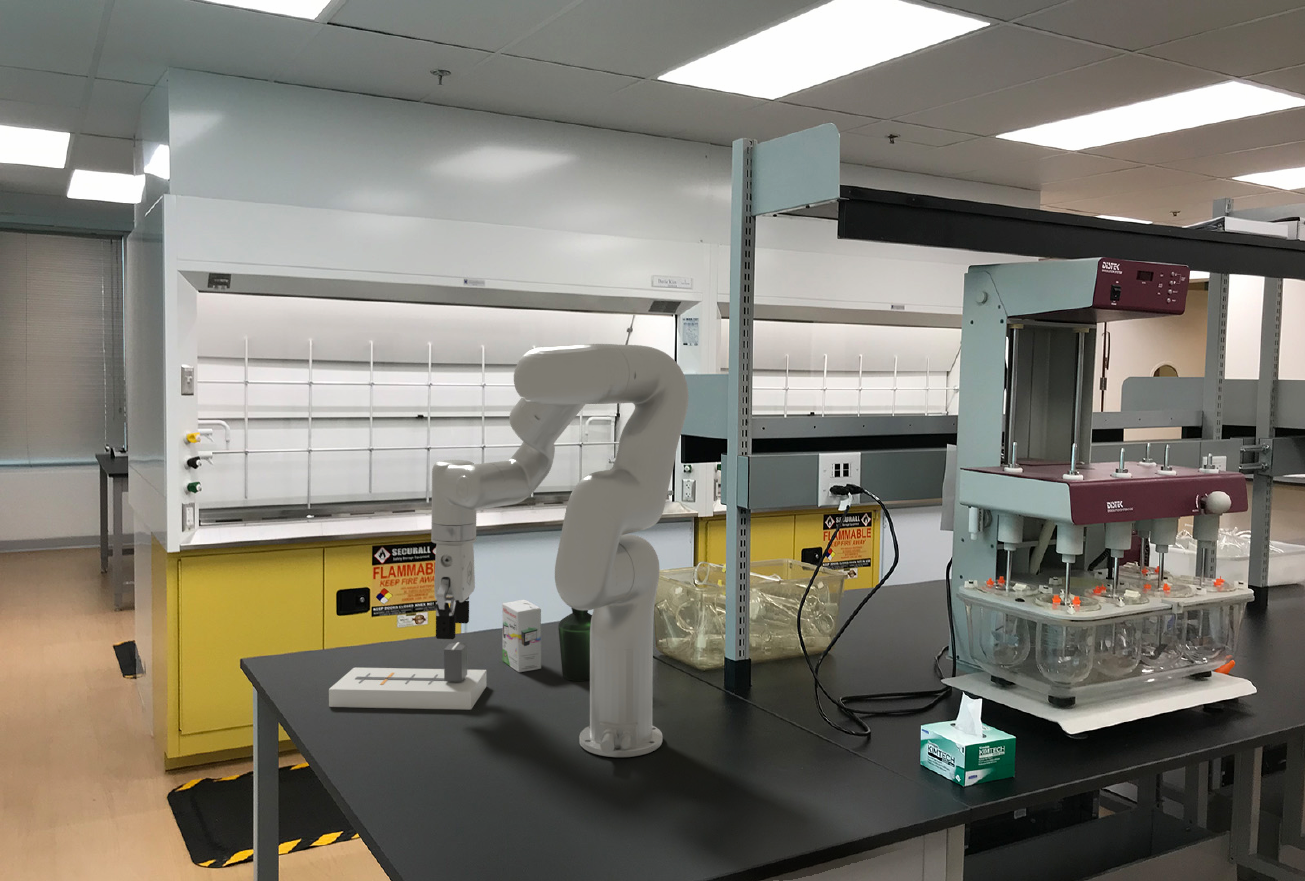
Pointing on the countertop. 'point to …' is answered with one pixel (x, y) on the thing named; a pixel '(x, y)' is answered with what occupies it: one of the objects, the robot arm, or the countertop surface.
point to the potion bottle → (575, 645)
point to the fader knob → (455, 662)
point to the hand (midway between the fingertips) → (452, 630)
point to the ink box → (522, 635)
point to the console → (406, 689)
